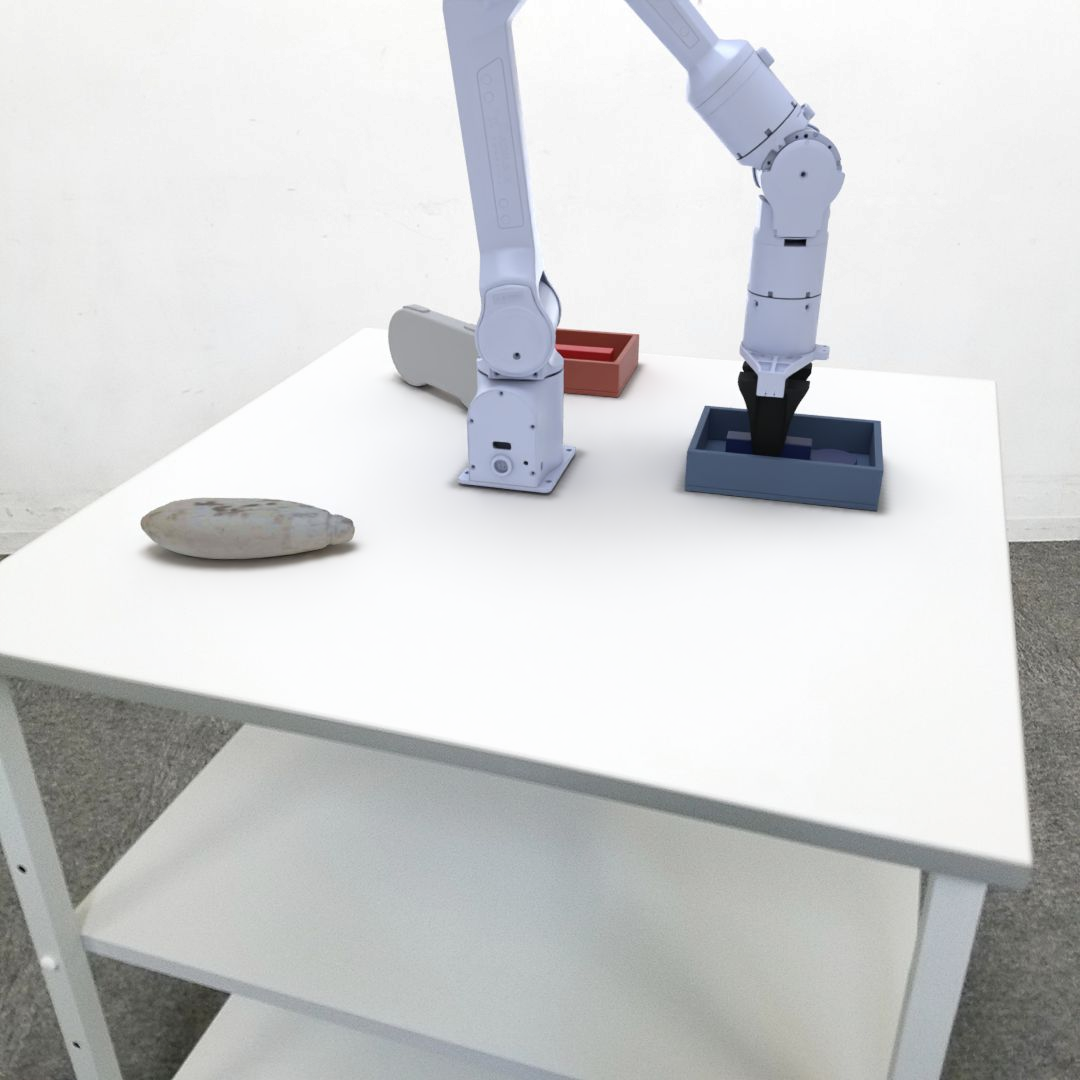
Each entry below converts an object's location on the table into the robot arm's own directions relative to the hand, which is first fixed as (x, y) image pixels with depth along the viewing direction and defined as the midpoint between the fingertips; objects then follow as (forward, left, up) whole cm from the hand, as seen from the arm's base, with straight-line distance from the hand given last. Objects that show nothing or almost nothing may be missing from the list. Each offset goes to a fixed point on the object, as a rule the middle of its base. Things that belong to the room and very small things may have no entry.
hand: (767, 451), depth 87 cm
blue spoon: (0, -2, -1) cm, 2 cm away
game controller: (+11, +33, -2) cm, 34 cm away
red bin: (+21, +24, -2) cm, 32 cm away
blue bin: (0, -1, -2) cm, 2 cm away
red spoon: (+21, +23, -1) cm, 31 cm away
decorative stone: (-24, +36, -2) cm, 43 cm away
